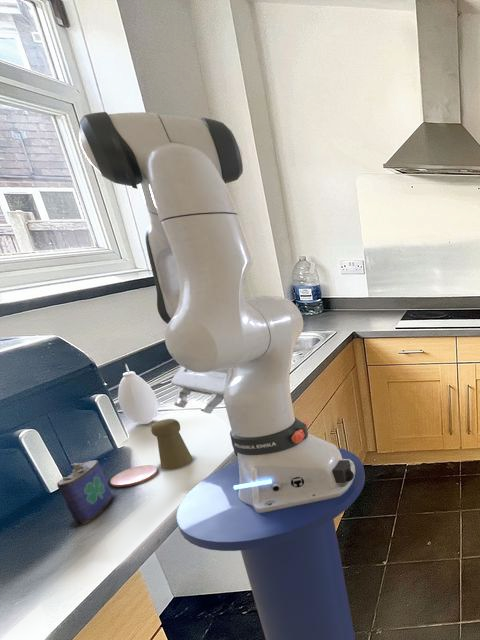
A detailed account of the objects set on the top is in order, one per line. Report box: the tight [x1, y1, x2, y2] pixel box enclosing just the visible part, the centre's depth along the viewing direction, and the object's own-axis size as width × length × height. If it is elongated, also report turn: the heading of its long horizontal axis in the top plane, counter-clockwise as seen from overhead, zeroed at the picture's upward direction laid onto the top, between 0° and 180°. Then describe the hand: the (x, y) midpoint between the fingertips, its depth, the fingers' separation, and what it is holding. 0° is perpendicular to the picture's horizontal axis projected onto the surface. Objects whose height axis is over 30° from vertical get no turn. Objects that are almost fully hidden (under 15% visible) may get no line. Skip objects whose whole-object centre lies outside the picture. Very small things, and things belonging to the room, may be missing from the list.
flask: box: [56, 459, 113, 526], centre depth 81 cm, size 9×3×11 cm, turn 15°
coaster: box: [109, 464, 159, 488], centre depth 93 cm, size 8×8×1 cm
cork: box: [150, 418, 193, 471], centre depth 97 cm, size 6×6×11 cm
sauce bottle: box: [117, 363, 159, 425], centre depth 116 cm, size 8×8×18 cm
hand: (191, 409), depth 101 cm, fingers open, 8 cm apart
